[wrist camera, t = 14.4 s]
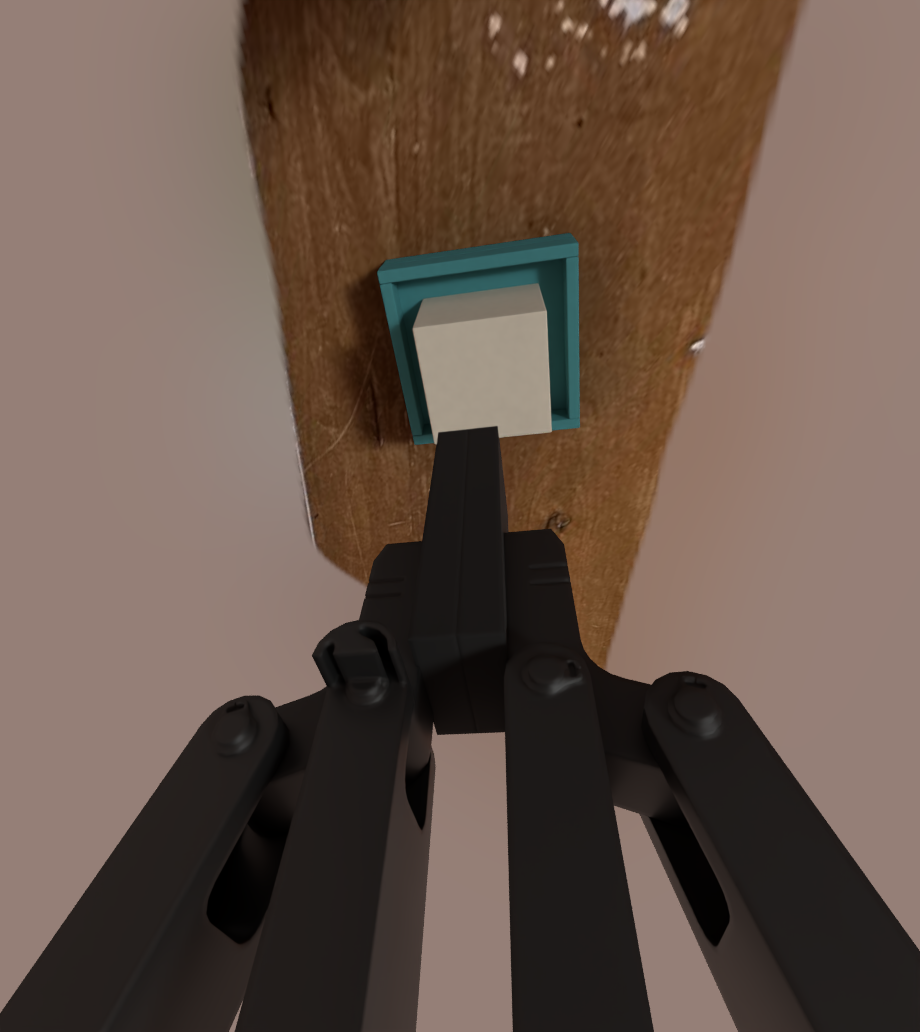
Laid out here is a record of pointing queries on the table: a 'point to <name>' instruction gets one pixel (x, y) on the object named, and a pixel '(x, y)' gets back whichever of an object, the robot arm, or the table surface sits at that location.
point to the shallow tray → (480, 271)
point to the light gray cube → (486, 361)
